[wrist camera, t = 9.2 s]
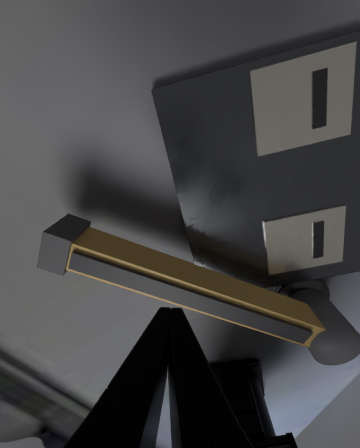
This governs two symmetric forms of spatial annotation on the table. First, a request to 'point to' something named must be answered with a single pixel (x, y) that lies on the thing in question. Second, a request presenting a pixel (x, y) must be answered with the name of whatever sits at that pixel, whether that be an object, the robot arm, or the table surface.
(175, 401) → the robot arm
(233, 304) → the swing arm
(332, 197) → the panel
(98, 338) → the table surface
